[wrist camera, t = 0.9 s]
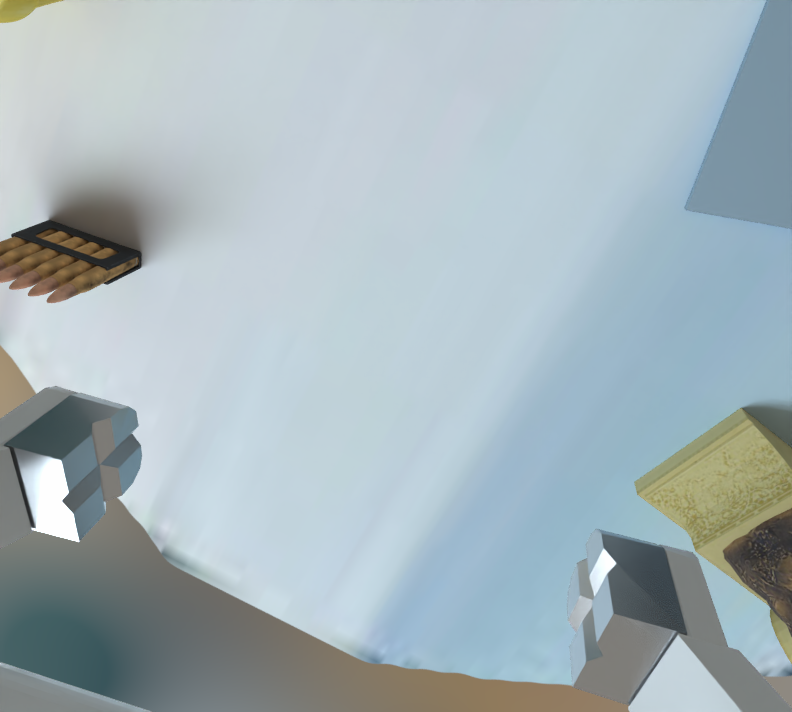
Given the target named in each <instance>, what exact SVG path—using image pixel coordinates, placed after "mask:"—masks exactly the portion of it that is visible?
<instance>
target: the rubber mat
mask: <svg viewBox="0 0 792 712" xmlns="http://www.w3.org/2000/svg"><path fill="white" fill-rule="evenodd" d="M685 209H686V210H688V211H694V212H699V213H705V214H711V215H716V216H722V217H727V218H733V219H739V220H744V221H750V222H756V223H761V224H767V225H772V226H778V227H784V228H789V229H792V0H767V1H766V4H765V6H764V9H763V11H762V14H761V17H760V19H759V22H758V24H757V27H756V29H755V32H754V34H753V37H752V39H751V42H750V44H749V47H748V49H747V52H746V54H745V57H744V59H743V62H742V65H741V67H740V70H739V72H738V75H737V77H736V80H735V82H734V85H733V87H732V90H731V92H730V95H729V97H728V100H727V102H726V105H725V107H724V110H723V113H722V115H721V118H720V120H719V123H718V125H717V128H716V130H715V133H714V135H713V138H712V140H711V143H710V145H709V148H708V150H707V153H706V155H705V158H704V161H703V163H702V166H701V168H700V171H699V173H698V176H697V178H696V181H695V183H694V186H693V188H692V191H691V193H690V196H689V198H688V201H687V203H686V206H685Z"/></svg>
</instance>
